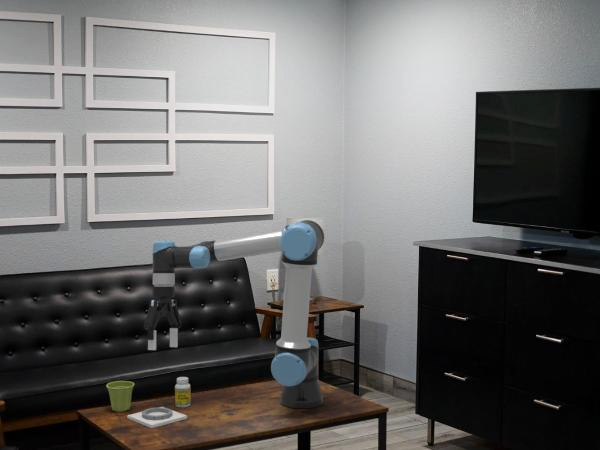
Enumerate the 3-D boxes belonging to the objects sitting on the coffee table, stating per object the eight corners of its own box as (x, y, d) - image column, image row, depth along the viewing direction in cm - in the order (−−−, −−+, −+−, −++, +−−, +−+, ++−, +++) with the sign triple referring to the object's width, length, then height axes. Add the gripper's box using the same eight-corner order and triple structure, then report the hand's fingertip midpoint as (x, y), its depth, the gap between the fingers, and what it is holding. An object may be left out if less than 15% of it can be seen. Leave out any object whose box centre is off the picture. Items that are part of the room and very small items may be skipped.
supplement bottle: (189, 402, 310) (189, 375, 309) (191, 407, 305) (191, 379, 304) (174, 403, 309) (174, 376, 308) (175, 408, 304) (175, 380, 303)
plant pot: (106, 414, 297) (106, 388, 296) (106, 406, 306) (106, 381, 305) (135, 412, 299) (134, 387, 298) (134, 404, 308) (134, 380, 307)
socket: (187, 418, 292) (187, 412, 292) (151, 428, 282) (151, 421, 282) (162, 409, 302) (162, 403, 302) (127, 418, 292) (127, 411, 292)
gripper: (173, 285, 316) (173, 345, 315) (133, 286, 293) (132, 350, 292) (191, 285, 313) (191, 346, 312) (152, 286, 290) (152, 351, 289)
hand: (163, 348), depth 302 cm, fingers open, 13 cm apart
